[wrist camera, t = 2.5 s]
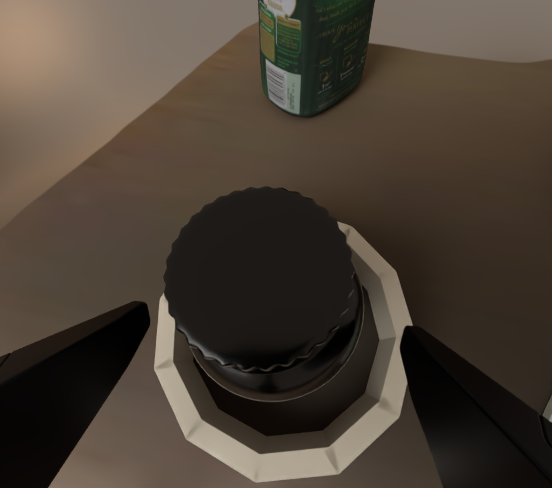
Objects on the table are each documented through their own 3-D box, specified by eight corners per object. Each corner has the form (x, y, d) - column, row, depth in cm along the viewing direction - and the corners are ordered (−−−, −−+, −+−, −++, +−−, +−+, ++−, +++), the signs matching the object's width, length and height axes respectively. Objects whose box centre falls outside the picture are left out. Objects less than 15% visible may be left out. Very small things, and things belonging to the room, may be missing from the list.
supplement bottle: (337, 280, 18) (400, 163, 7) (332, 391, 15) (422, 471, 5) (242, 270, 19) (168, 150, 8) (221, 373, 16) (70, 406, 5)
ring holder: (253, 522, 13) (243, 564, 11) (145, 302, 18) (119, 292, 16) (442, 350, 16) (472, 348, 13) (300, 199, 21) (301, 175, 18)
